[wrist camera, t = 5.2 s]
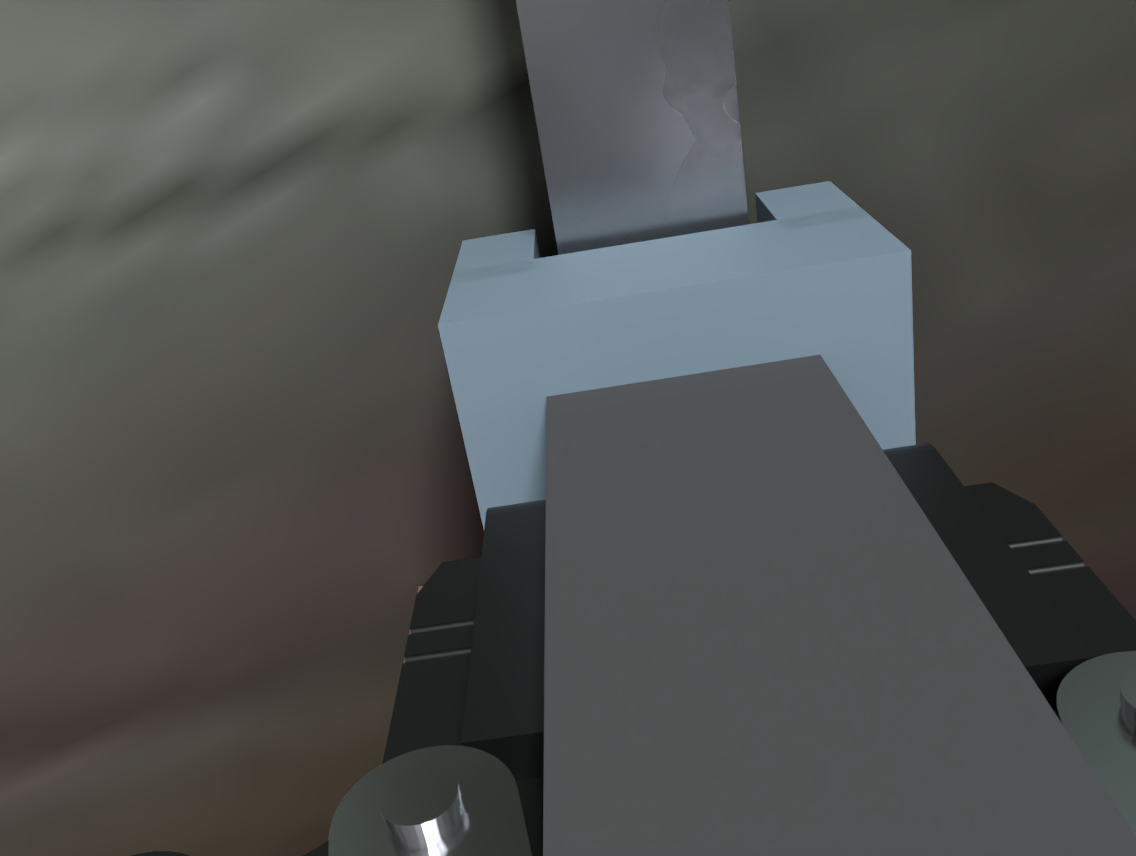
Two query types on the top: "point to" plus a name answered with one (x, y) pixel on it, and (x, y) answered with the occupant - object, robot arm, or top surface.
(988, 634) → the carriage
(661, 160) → the stand
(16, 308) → the top surface
